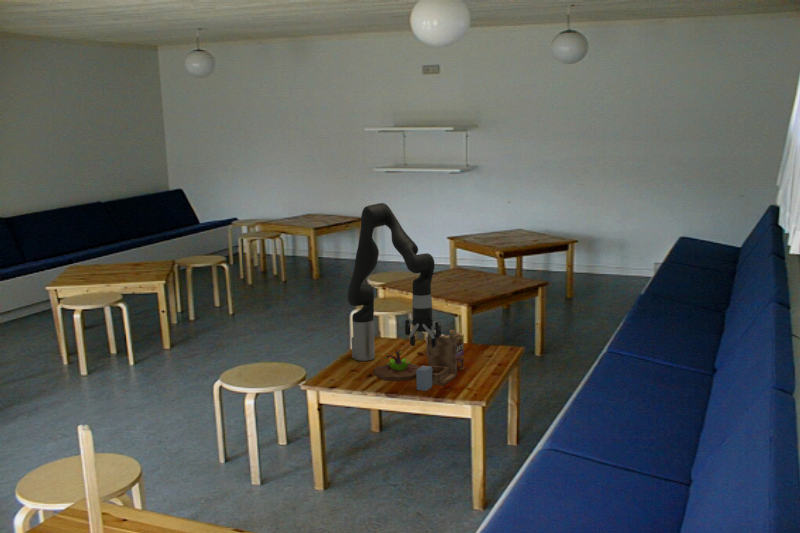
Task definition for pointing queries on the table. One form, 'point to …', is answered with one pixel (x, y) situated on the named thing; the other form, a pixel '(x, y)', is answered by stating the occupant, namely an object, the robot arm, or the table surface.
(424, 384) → the block
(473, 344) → the table surface
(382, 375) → the plant
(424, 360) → the table surface
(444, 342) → the chair
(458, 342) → the candy box
